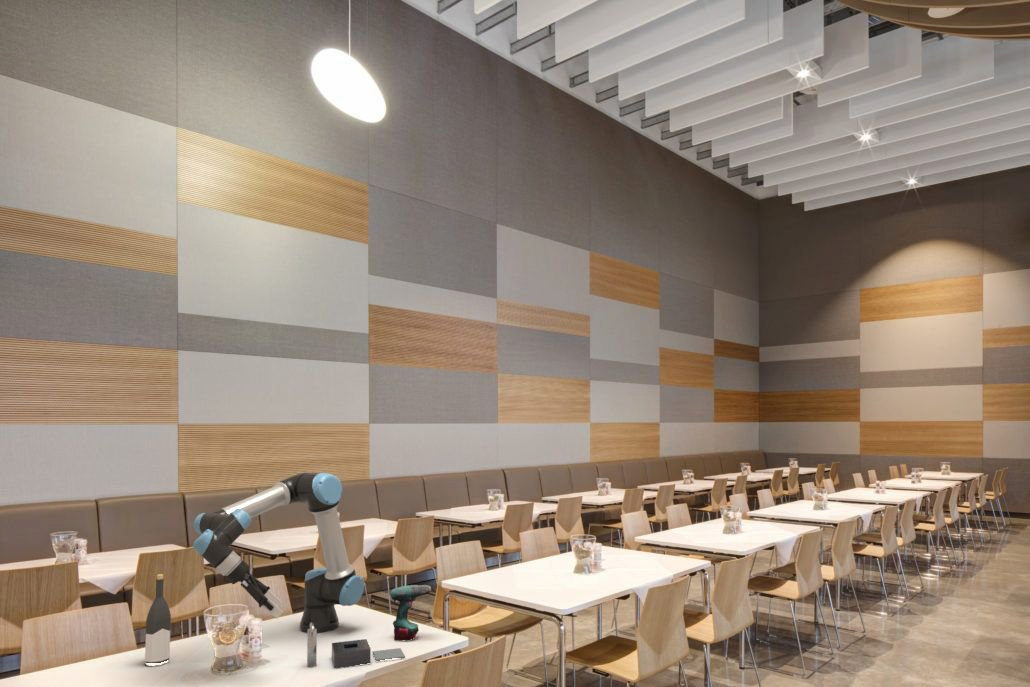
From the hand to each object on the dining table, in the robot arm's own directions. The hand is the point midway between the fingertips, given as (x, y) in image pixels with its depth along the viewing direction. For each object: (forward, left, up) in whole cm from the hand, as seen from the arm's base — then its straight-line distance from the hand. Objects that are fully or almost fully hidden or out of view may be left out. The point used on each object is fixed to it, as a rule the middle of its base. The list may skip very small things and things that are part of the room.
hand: (279, 610), depth 241 cm
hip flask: (0, +11, -19) cm, 22 cm away
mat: (0, +37, -19) cm, 41 cm away
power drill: (-17, +48, -20) cm, 54 cm away
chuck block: (0, +24, -19) cm, 30 cm away
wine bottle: (-24, -40, -20) cm, 51 cm away
